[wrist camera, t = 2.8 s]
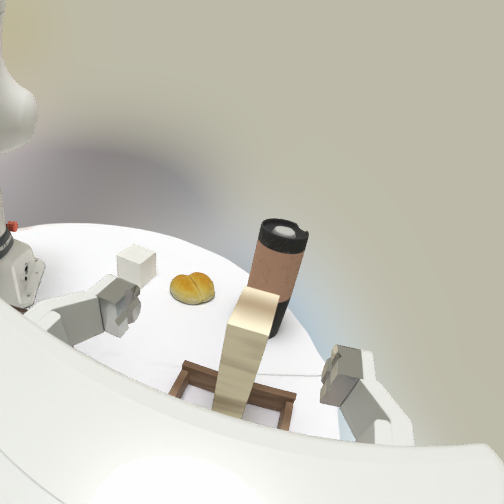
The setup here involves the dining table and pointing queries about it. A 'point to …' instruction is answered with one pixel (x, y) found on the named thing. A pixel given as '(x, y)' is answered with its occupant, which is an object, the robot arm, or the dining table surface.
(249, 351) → the beige tall rectangular block
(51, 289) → the dining table surface
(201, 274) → the bread roll
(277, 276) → the travel mug
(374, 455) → the robot arm
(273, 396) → the tray
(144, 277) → the off-white cube
